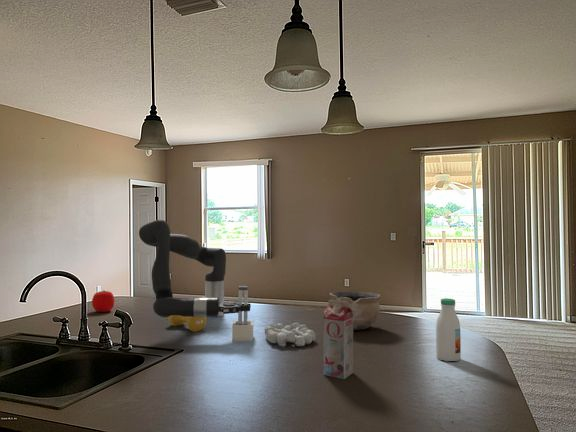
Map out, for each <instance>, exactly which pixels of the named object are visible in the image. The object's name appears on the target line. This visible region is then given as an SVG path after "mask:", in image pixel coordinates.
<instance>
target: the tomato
mask: <svg viewBox="0 0 576 432" xmlns="http://www.w3.org/2000/svg"><path fill="white" fill-rule="evenodd" d="M91 304H92V307H93V309H94V311H96V312H98V313H99V312H100V313H101V312H102V313H104V312H105V313H107V312H110V311H111V310H112V309H114V306H115V296H114V294H113V293H112V292H111V291H109V290H108V291H107V290H101V291H98V292H95V293H94V294H93V297H92V300H91Z"/></svg>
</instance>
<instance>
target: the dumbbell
mask: <svg viewBox="0 0 576 432" xmlns="http://www.w3.org/2000/svg"><path fill="white" fill-rule="evenodd" d="M166 318H167V320H168V322H169V324H170V325H171V326H172V327H178V326H182V325H184V324H186V326H187V328H188V329H189V331H191V332H193V333H195V332H200V331H202V330H203V329H204V328H205V327H206V324H207V317H195V316H194V317H185V316H180V315H171V316H169V317H166Z"/></svg>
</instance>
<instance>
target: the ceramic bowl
mask: <svg viewBox="0 0 576 432" xmlns="http://www.w3.org/2000/svg"><path fill="white" fill-rule="evenodd" d="M329 297H330V298H331V299H330V300H335V301H344V302H349V308H350V309H351V310H352V311H353V331H361V330H365V329H366V330H367V329H368V328H370V327H371V326H373V324H374V323H375V322H376V320H377V319H378V317H379V315H380V312H381V307H380V299H381V295H380V294H378V293H375V292H366V291H356V290H355V291H353V290H351V291H344V290H343V291H334V292H330V293H329Z"/></svg>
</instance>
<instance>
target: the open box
mask: <svg viewBox="0 0 576 432" xmlns="http://www.w3.org/2000/svg"><path fill="white" fill-rule="evenodd" d="M231 329H232V332H231V335H232V336H231V341H232V342H253V341H254V320H247V325H244V320H242V325H238V320H234V321H233V322H232V325H231Z"/></svg>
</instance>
